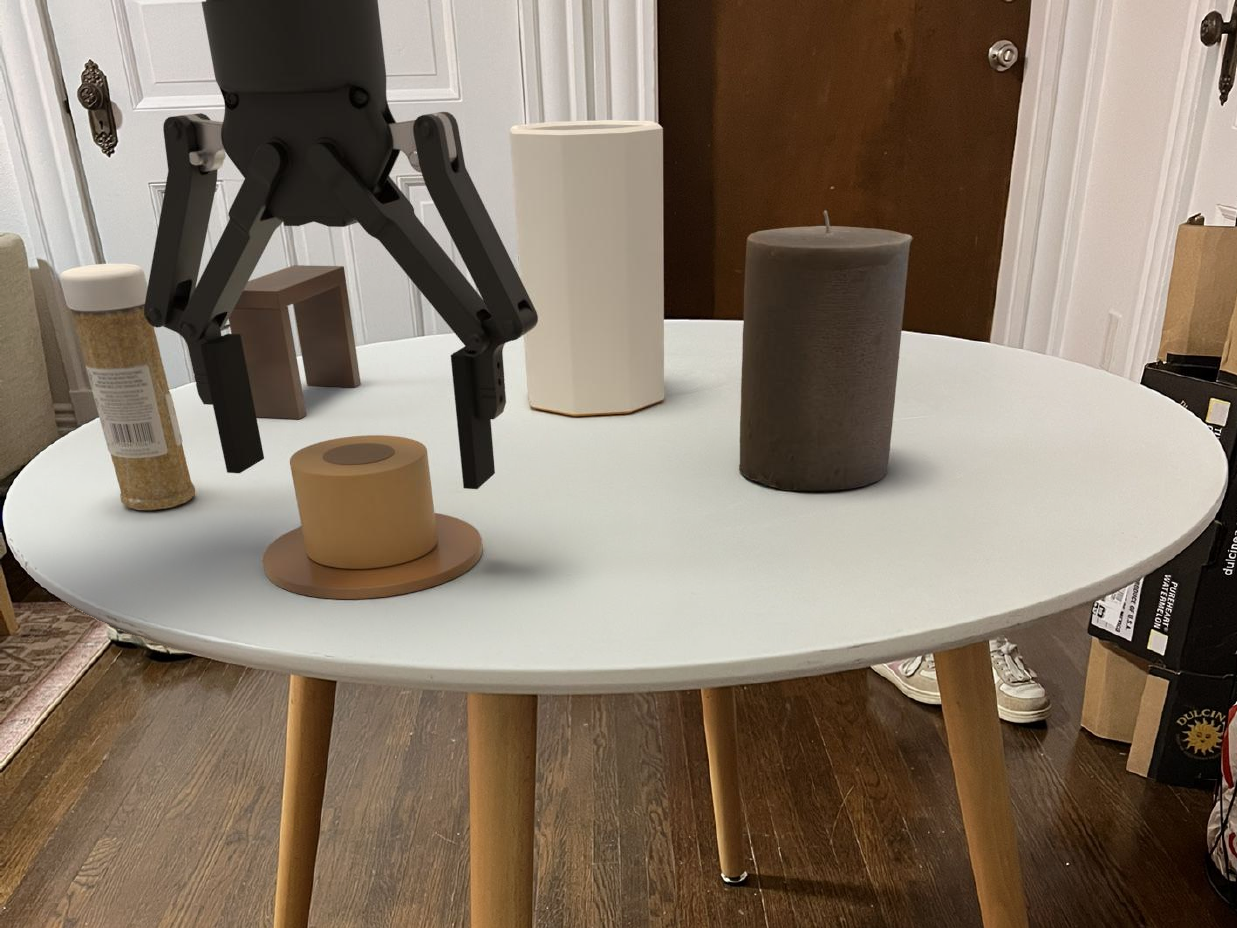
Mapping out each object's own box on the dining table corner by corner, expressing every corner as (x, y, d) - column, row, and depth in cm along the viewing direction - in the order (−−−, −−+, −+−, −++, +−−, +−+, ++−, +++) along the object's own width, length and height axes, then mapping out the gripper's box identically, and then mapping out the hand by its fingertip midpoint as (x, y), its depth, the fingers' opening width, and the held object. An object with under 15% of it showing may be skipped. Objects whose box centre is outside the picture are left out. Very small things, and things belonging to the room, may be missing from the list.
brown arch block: (247, 416, 91) (222, 289, 86) (313, 382, 99) (293, 265, 94) (299, 419, 90) (277, 291, 85) (361, 384, 98) (344, 265, 93)
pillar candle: (752, 496, 72) (762, 224, 64) (728, 450, 81) (734, 203, 72) (907, 489, 73) (937, 217, 65) (868, 444, 81) (890, 197, 73)
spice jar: (209, 491, 76) (158, 261, 68) (172, 514, 72) (113, 274, 65) (146, 487, 77) (88, 260, 69) (105, 510, 73) (40, 273, 65)
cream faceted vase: (501, 394, 95) (479, 125, 84) (622, 374, 99) (615, 117, 89) (564, 425, 87) (549, 133, 76) (692, 403, 91) (694, 123, 81)
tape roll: (282, 564, 63) (264, 470, 60) (341, 519, 69) (327, 431, 66) (407, 574, 62) (393, 477, 59) (456, 527, 67) (447, 437, 64)
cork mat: (222, 589, 62) (220, 578, 62) (325, 514, 72) (323, 504, 71) (434, 607, 60) (433, 596, 59) (511, 526, 69) (510, 516, 69)
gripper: (588, -23, 51) (602, 465, 63) (90, -7, 57) (191, 440, 69) (535, -28, 45) (562, 511, 57) (-16, -10, 51) (114, 480, 63)
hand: (360, 473), depth 63 cm, fingers open, 13 cm apart
